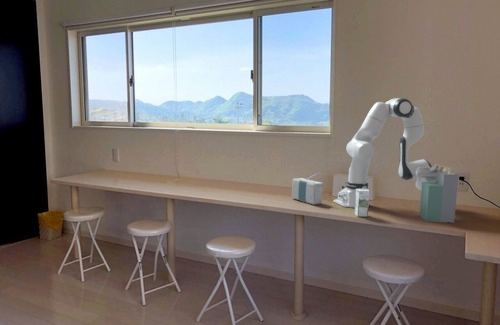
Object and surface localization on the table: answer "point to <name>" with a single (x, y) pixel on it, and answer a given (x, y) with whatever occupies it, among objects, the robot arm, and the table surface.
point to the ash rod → (445, 170)
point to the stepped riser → (439, 198)
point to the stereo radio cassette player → (307, 190)
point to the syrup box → (362, 202)
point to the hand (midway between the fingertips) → (440, 167)
